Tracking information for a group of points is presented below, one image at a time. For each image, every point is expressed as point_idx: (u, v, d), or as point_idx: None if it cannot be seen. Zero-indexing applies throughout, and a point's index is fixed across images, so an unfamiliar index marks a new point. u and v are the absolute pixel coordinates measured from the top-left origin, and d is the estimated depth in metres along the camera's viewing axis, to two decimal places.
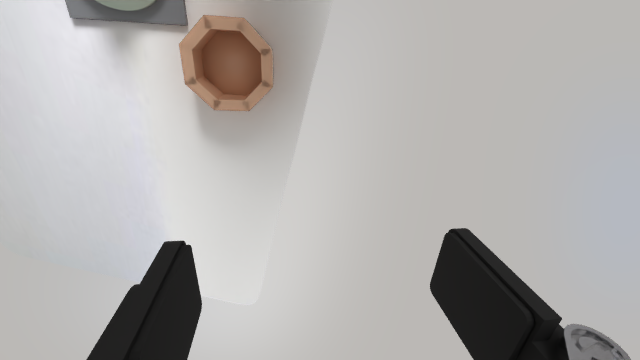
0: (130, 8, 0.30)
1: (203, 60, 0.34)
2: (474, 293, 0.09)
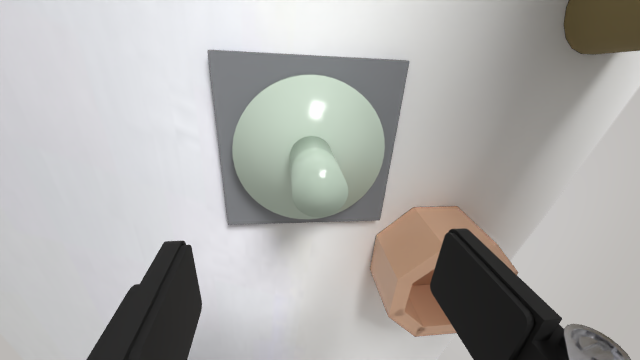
0: (318, 216, 0.20)
1: None
2: (474, 293, 0.09)
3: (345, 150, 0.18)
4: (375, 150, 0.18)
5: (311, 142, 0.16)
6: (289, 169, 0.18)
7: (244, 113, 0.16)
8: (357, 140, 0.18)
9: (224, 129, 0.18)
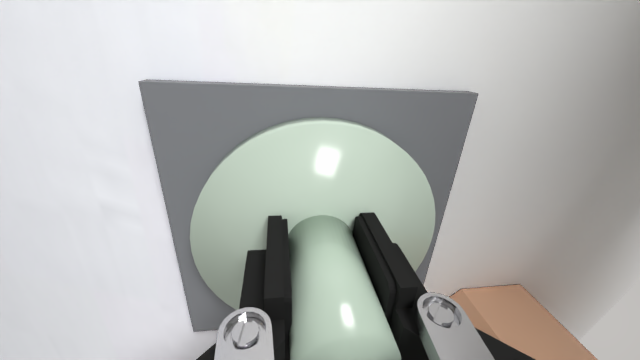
0: None
1: None
2: (367, 270, 0.09)
3: None
4: (420, 229, 0.12)
5: (322, 234, 0.10)
6: None
7: (207, 187, 0.10)
8: (392, 218, 0.11)
9: (179, 204, 0.11)
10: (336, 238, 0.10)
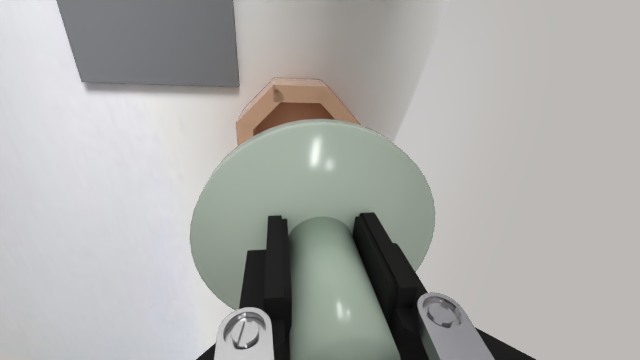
0: None
1: (257, 129, 0.25)
2: (367, 270, 0.09)
3: None
4: (420, 230, 0.12)
5: (321, 236, 0.10)
6: None
7: (206, 189, 0.10)
8: (392, 219, 0.11)
9: None
10: (336, 239, 0.10)
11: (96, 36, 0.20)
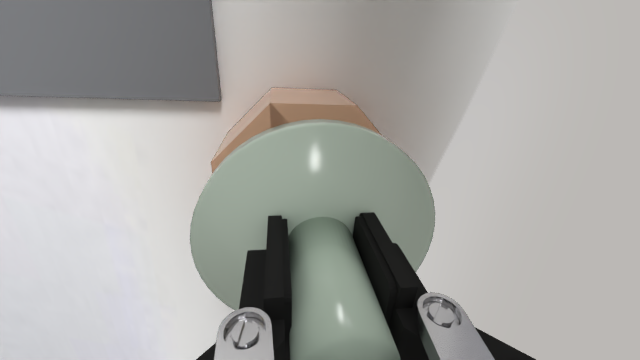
0: None
1: None
2: (367, 270, 0.09)
3: None
4: (420, 231, 0.12)
5: (321, 236, 0.10)
6: None
7: (206, 189, 0.10)
8: (392, 219, 0.11)
9: None
10: (336, 240, 0.10)
11: None
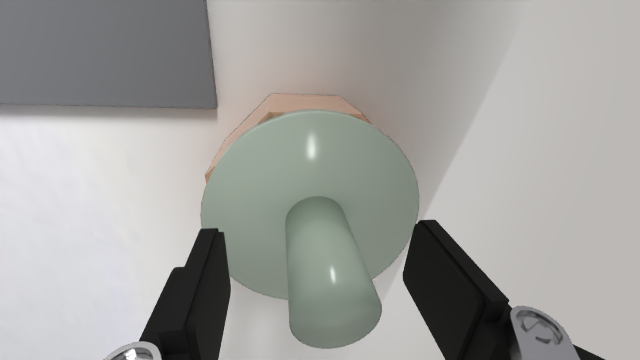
0: None
1: None
2: (437, 280, 0.09)
3: (364, 212, 0.13)
4: (406, 210, 0.13)
5: (316, 211, 0.11)
6: (285, 240, 0.13)
7: (216, 170, 0.11)
8: (380, 199, 0.13)
9: None
10: (329, 214, 0.11)
11: None
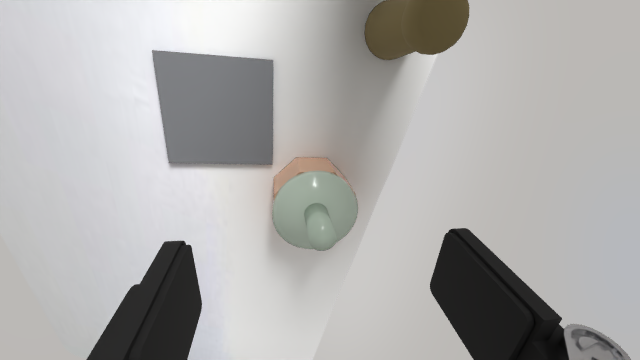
0: None
1: None
2: (474, 293, 0.09)
3: (335, 210, 0.32)
4: (352, 209, 0.32)
5: (317, 208, 0.30)
6: (303, 221, 0.32)
7: (280, 192, 0.30)
8: (342, 204, 0.32)
9: (164, 97, 0.29)
10: (321, 209, 0.30)
11: (183, 135, 0.31)
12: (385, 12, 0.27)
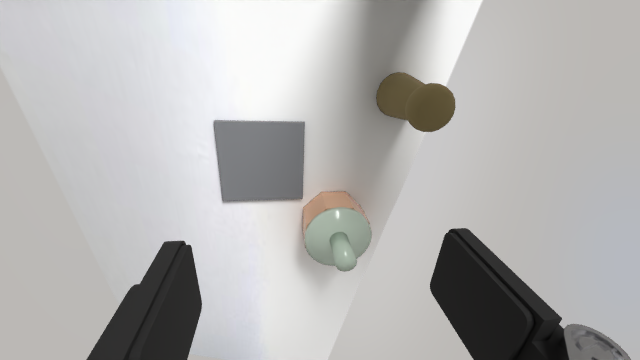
0: None
1: None
2: (474, 293, 0.09)
3: (354, 236, 0.41)
4: (367, 235, 0.41)
5: (340, 237, 0.39)
6: (329, 245, 0.41)
7: (311, 225, 0.39)
8: (359, 232, 0.41)
9: (221, 153, 0.38)
10: (343, 238, 0.39)
11: (234, 180, 0.40)
12: (392, 90, 0.34)
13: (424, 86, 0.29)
